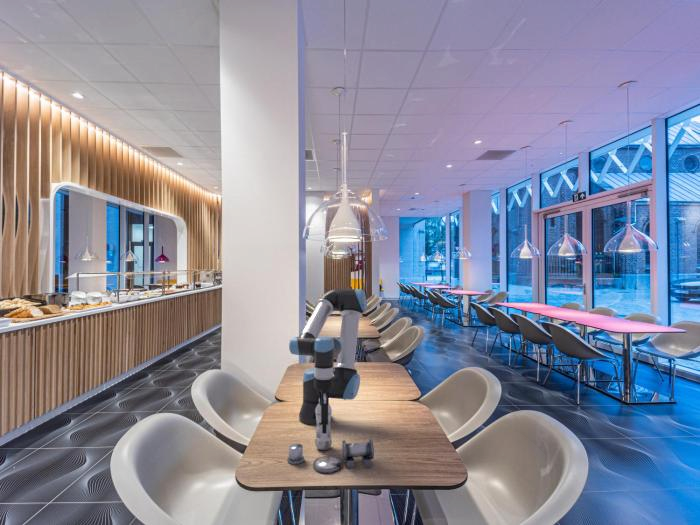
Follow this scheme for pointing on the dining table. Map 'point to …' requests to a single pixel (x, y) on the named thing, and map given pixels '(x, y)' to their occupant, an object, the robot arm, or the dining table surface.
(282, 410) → the dining table surface
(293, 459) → the metal thimble
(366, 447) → the grey metal parts
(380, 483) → the dining table surface
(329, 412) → the plastic bottle
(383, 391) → the dining table surface
